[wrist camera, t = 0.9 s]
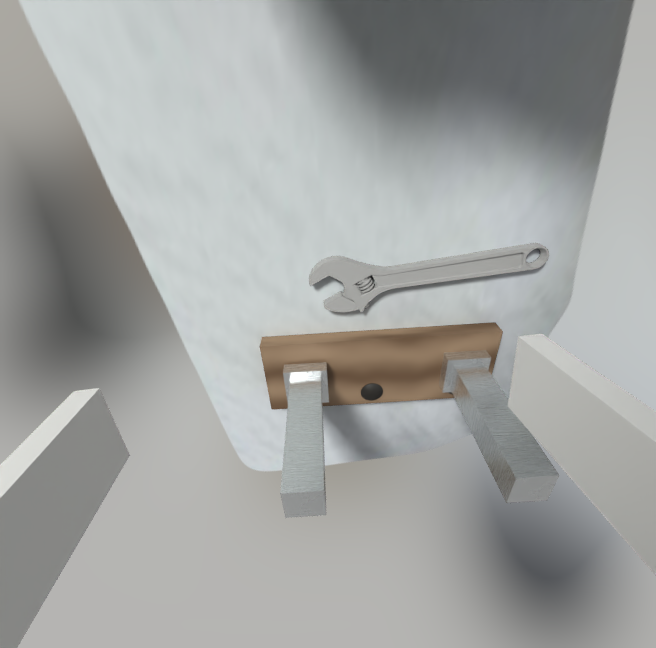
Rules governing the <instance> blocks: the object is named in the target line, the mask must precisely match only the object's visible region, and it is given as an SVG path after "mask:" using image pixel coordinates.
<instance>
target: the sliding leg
mask: <svg viewBox="0 0 656 648" xmlns="http://www.w3.org/2000/svg"><path fill="white" fill-rule="evenodd" d="M283 376H284V383H285V389H286V396H287V402H288V411H287V422H286V434H285V446H284V458H283V469H282V481H281V493H280V494H281V498H282V503H283V508H284V513H285V517H286V518H287V517H302V516H318V515H326V491H325V460H324V430H323V403H326V402H329V394H328V379H327V364H326V362H321V363H305V364H289V365H284V369H283Z"/></svg>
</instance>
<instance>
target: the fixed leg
mask: <svg viewBox="0 0 656 648" xmlns="http://www.w3.org/2000/svg"><path fill="white" fill-rule="evenodd" d="M490 361H491V357H490V355H489V354H488V352H487V351H486V350H478V351H462V352H446V353H444V355H443V361H442V368H441V374H440V380H439V386H440V388H441V390H442V392H443V393H445V392H452V394H453V396H454V398H455V400H456V402H457V404H458V406H459V408H460V410H461V412H462V414H463V416H464V418H465V420H466V422H467V424H468V426H469V428H470V430H471V432H472V434H473V436H474V438H475V440H476V442H477V444H478V446H479V448H480V450H481V452H482V455H483V456H484V459H485V461H486V463H487V464H488V467H489V468H490V471H491V473H492V475H493V477H494V479H495V481H496V482H497V485H498V487H499V489H500V491H501V493H502V495H503V497H504V499H505V501H506V503H516V502H531V501H547V499H548V498H549V496H550V494H551V492H552V489H553V487H554V485H555V483H556V481H557V479H558V477H559V474H558V473H557V471H556V470H555V468H554V467H553V465H552V464H551V462H550V461H549V459H548V458H547V456H546V455H545V453H544V452H543V450H542V449H541V447H540V446H539V444H538V443H537V442H536V440H535V439H534V437H533V436H532V434H531V433H530V431H529V430H528V429H527V428H526V427H525V426H524V424H523V423H522V422H521V421H520V420H519V419H518V418H517V416H516V415H515V414H514V413H513V412H512V411H511V410H510V408H509V407H508V399H507V397H506V396H505V394H504V393H503V391H502V390H501V388H500V387H499V385H498V384H497V382H496V381H495V379H494V378H493V376H492V375H491V373H490V372H489V370H488V369H489V365H490Z"/></svg>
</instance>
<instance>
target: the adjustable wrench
mask: <svg viewBox="0 0 656 648" xmlns="http://www.w3.org/2000/svg"><path fill="white" fill-rule="evenodd" d="M536 248H537V249H539V250H540V255H539V257H538V258H537V259H536V260H535V261H533V262H531V263H528V262H526V257H527V255H528V254H529V253H530V252H531V251H532V250H534V249H536ZM548 257H549V251H548V249H547V248H546V247H544V246H543V245H541V244H538V243H530V244H524V245H518V246H512V247H505V248H499V249H493V250H487V251H481V252H475V253H469V254H463V255H457V256H451V257H444V258H438V259H432V260H426V261H420V262H414V263H408V264H402V265H396V266H386V267H383V266H375V265H370V264H366V263H362V262H358V261H355V260H352V259H349V258H346V257H343V256H331V257H327V258H325V259H323V260H321V261H320V262H319V263H317V264H316V265H315V267H314V268H313V269H312V271H311V273H310V276H309V284H310V286H312V285H313V284H315V283H317V282H319V281H320V280H322V279H324V278H326V277H327V276H331V277H333V278H335V279H337V280H339V281H341V282H342V283H343V285H344V292H342V291H340V292H338V293H336V294H335V295H333V296H331V297H329V298H327V299H325V300H324V307H325V308H326V309H327V310H330V311H335V312H350V311H356V310H360V312H362V311H363V310H364V308H367V307H368V306H369V302H370V301H371V300H372V299H373V298H375V297H376V296H377V295H378V294H380V293H382V292H384V291H387V290H390V289H394V288H401V287H408V286H416V285H423V284H430V283H438V282H445V281H453V280H460V279H467V278H475V277H482V276H489V275H497V274H504V273H512V272H519V271H526V270H534V269H537V268H540V267H541V266H543V265H544V264H545V263H546V261H547V260H548ZM371 275H372V277H373V278H374V280H375V282H376V283H375V284H374V282H373V280H372V279H371Z"/></svg>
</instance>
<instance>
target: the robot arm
mask: <svg viewBox="0 0 656 648" xmlns="http://www.w3.org/2000/svg"><path fill="white" fill-rule="evenodd" d="M508 407H509V408H510V410H511V411H512V412H513V413H514V414H515V415H516V416H517V418H518V419H519V420H520V421H521V422H522V423H523V424H524V426H525V427H526V428H527V429H528V430H529V431H530V432H531V434H532V435H533V436H534V437H535V438H536V439H537V440H538V442H539V443H540V444H541V445H542V446H543V447H544V448H545V449H546V451H547V452H548V453H549V454H550V455H551V456H552V457H553V459H554V460H555V461H556V462H557V463H558V464H559V465H560V467H561V468H562V469H563V470H564V471H565V472H566V474H567V475H568V476H569V477H570V478H571V479H572V480H573V481H574V482H575V484H576V485H577V486H578V487H579V488H580V489H581V491H582V492H583V493H584V494H585V495H586V496H587V497H588V499H590V501H591V502H592V503H593V504H594V505H595V506H596V508H597V509H598V510H599V511H600V512H601V513H602V515H603V516H604V517H605V518H606V519H607V520H608V521H609V523H610V524H611V525H612V526H613V527H614V528H615V529H616V530H617V532H618V533H619V534H620V535H621V536H622V537H623V539H624V540H625V541H626V542H627V543H628V544H629V545H630V546H631V548H632V549H633V550H634V551H635V552H636V553H637V555H638V556H639V557H640V558H641V559H642V560H643V561H644V562H645V564H646V565H647V566H648V567H649V568H650V569H651V571H652V572H653V573H654V574H655V575H656V411H654V410H653V409H651V408H650V407H648V406H647V405H646V404H644V403H643V402H641V401H640V400H638V399H637V398H635V397H634V396H632V395H631V394H629V393H628V392H626V391H625V390H623V389H622V388H621V387H619V386H618V385H616V384H615V383H613V382H612V381H610V380H609V379H607V378H606V377H605V376H603V375H602V374H600V373H599V372H597V371H596V370H594V369H593V368H591V367H590V366H588V365H587V364H586V363H584V362H583V361H581V360H579V359H578V358H577V357H575V356H574V355H572V354H571V353H569V352H568V351H566V350H565V349H563V348H562V347H561V346H559V345H558V344H556V343H555V342H553V341H552V340H550V339H549V338H547V337H546V336H545V335H543V334H534V335H526V336H518V342H517V348H516V355H515V361H514V368H513V374H512V381H511V387H510V394H509V400H508ZM129 456H130V455H129V452H128V450H127V448H126V446H125V443H124V441H123V439H122V437H121V435H120V432H119V430H118V428H117V426H116V424H115V422H114V419H113V417H112V415H111V412H110V410H109V408H108V406H107V404H106V401H105V399H104V397H103V395H102V393H101V390H100V388H97V389H89V390H81V391H74V392H73V393H72V394H71V395H70V396H69V397H68V398H67V399H66V400H65V401H64V402H63V403H62V404H61V405H60V406H59V407H58V408H57V409H56V410H55V411H54V412H53V413H52V414H51V415H50V416H49V417H48V418H47V419H46V420H45V421H44V422H43V423H42V424H41V425H40V426H39V427H38V428H37V429H36V430H35V431H34V432H33V433H32V434H31V435H30V436H29V437H28V438H27V439H26V440H25V441H24V442H23V443H22V444H21V445H20V446H19V447H18V448H17V449H16V450H15V451H14V452H13V453H12V454H11V455H10V456H9V457H8V458H7V459H6V460H5V461H4V462H3V463H2V464H1V465H0V648H17V647H18V645H19V644H20V642H21V640H22V639H23V637H24V635H25V633H26V632H27V630H28V628H29V627H30V625H31V623H32V621H33V620H34V618H35V616H36V615H37V613H38V611H39V609H40V608H41V606H42V604H43V602H44V601H45V599H46V598H47V596H48V594H49V592H50V591H51V589H52V587H53V586H54V584H55V582H56V580H57V579H58V577H59V575H60V574H61V572H62V570H63V569H64V567H65V565H66V563H67V562H68V560H69V558H70V556H71V555H72V553H73V551H74V550H75V548H76V546H77V545H78V543H79V541H80V539H81V538H82V536H83V534H84V533H85V531H86V529H87V528H88V526H89V524H90V522H91V521H92V519H93V517H94V515H95V514H96V512H97V510H98V509H99V507H100V505H101V503H102V502H103V500H104V498H105V497H106V495H107V493H108V492H109V490H110V488H111V487H112V485H113V483H114V481H115V479H116V478H117V476H118V474H119V473H120V471H121V469H122V468H123V466H124V464H125V463H126V461H127V459H128V457H129Z"/></svg>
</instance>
